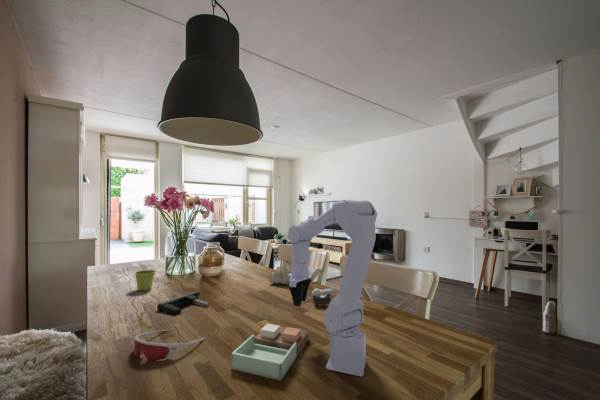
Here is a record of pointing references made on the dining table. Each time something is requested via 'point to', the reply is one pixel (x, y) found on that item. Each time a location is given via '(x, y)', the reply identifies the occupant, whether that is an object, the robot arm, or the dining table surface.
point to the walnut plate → (282, 341)
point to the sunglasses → (157, 347)
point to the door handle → (181, 303)
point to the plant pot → (144, 279)
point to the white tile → (270, 331)
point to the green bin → (263, 359)
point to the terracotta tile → (291, 334)
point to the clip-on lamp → (322, 296)
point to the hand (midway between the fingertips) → (299, 303)
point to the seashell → (280, 275)
